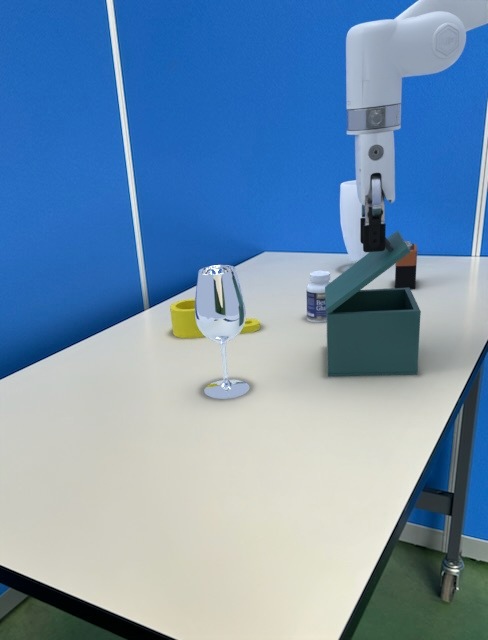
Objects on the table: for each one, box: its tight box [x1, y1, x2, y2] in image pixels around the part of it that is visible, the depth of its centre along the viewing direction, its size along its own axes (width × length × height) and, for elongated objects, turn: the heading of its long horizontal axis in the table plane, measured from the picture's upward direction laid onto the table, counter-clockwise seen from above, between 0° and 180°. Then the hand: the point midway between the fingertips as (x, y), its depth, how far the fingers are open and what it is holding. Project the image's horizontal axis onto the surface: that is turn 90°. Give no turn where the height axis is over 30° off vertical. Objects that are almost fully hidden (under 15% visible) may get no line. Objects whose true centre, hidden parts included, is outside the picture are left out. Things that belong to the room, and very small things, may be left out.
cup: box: [339, 179, 369, 262], centre depth 155 cm, size 10×10×22 cm
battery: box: [394, 240, 418, 290], centre depth 140 cm, size 4×7×10 cm, turn 163°
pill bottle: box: [306, 270, 332, 323], centre depth 126 cm, size 5×5×10 cm
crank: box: [169, 298, 261, 339], centre depth 127 cm, size 18×8×6 cm, turn 81°
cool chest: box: [326, 287, 422, 378], centre depth 103 cm, size 14×13×11 cm
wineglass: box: [194, 264, 250, 400], centre depth 97 cm, size 8×8×20 cm
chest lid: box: [325, 230, 410, 313], centre depth 99 cm, size 15×13×5 cm
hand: (372, 245), depth 97 cm, fingers closed on chest lid, 5 cm apart
